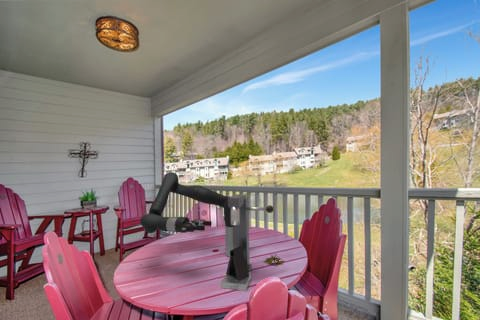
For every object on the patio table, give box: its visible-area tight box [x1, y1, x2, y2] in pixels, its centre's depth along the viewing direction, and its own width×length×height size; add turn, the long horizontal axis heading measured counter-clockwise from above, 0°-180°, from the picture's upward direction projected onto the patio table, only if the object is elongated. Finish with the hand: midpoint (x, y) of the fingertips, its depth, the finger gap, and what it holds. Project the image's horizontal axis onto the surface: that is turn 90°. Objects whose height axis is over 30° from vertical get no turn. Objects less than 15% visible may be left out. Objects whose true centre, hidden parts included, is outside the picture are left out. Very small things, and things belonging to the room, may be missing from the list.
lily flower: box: [263, 253, 284, 268], centre depth 120 cm, size 12×12×5 cm
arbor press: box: [220, 194, 275, 292], centre depth 102 cm, size 20×22×38 cm
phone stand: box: [225, 247, 249, 281], centre depth 100 cm, size 9×6×12 cm, turn 45°
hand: (208, 225), depth 106 cm, fingers open, 8 cm apart
